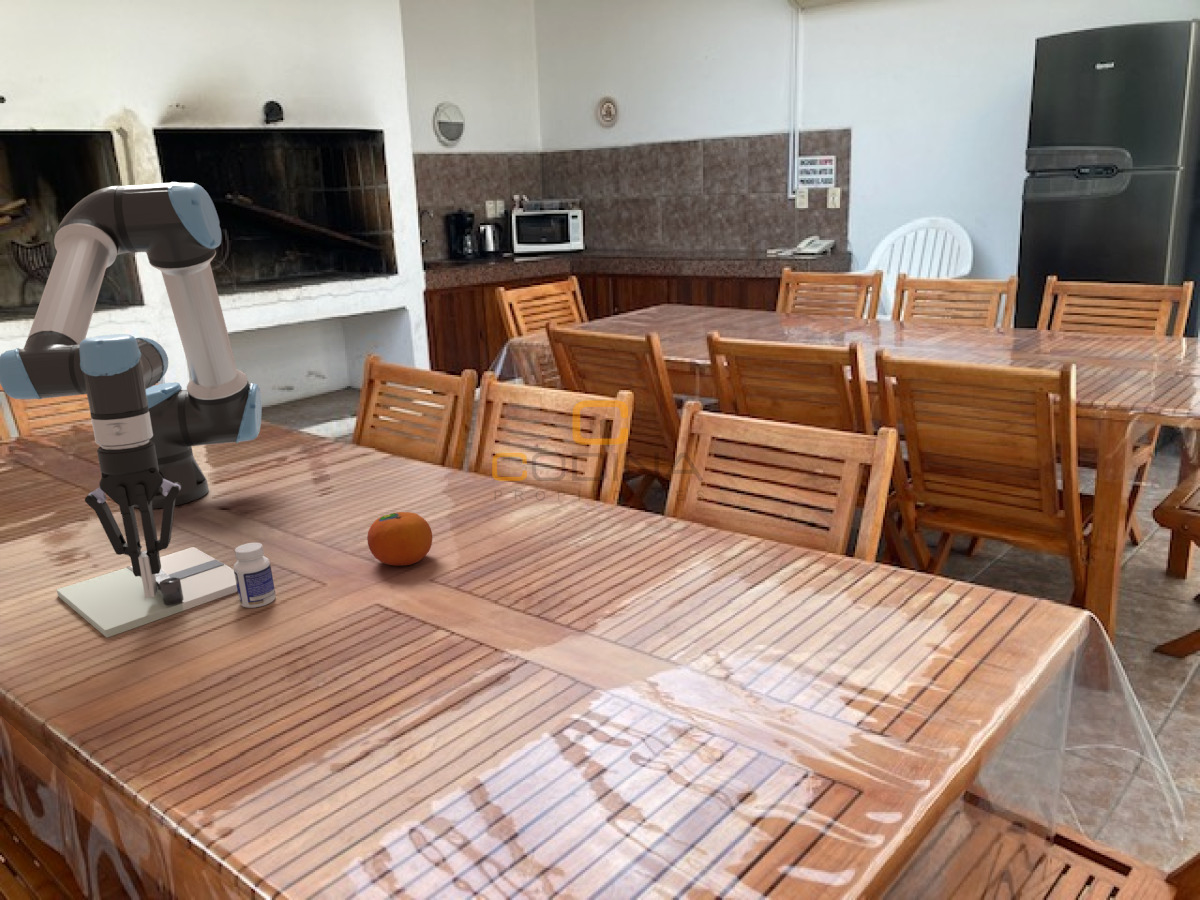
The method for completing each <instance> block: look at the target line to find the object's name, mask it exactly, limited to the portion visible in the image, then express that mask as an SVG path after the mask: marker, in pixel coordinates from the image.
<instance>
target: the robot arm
mask: <svg viewBox="0 0 1200 900" xmlns="http://www.w3.org/2000/svg"><path fill="white" fill-rule="evenodd" d="M220 223H221V222H220V218H219V215H218V213H217V210H216V207H215V204H214V202H213V200H212V198H211V196H210V195H209V193H208V192H207V190H205V189H204V187H202V186H201V185H199V184H198V183H196V182H195V183H194V182H177V181H171V182H162V183H159V182H158V183H146V184H133V185H132V184H131V185H130V184H129V185H112V186H107V187H103V188H100V189H97V190H95V191H93V192H92V193H89V194H88V195H87V196H85V197H83V198H81V200H80V201H78V202H77V203H76V204H75V205H74V206H73V207H72V208H71V209H70V210H69V212H67V214H66V215H65V216H64V217H63V218H62V221H60V223H59V224H58V227H57V230H56V233H55V236H54V240H53V243H54V248H55V250H56V255H55V257H54V260H53V263H52V266H51V269H50V272H49V275H48V277H47V278H48V279H47V280H46V284H45V286H44V289H43V292H42V295H41V298H40V301H39V305H38V306H37V307H38V308H37V310H36V313H35V315H34V319H33V321H32V323H31V324H32V325H31V327H30V330H29V333H28V336H27V338H26V341H25V344H24V346H23V348H19V347H16V348H15V349H10V350H9V349H8V350H6V351H4V352H3V353H0V387H1V388H2V389H3V391H4V393H5V395H7V396H8V397H10V398H11V399H14V400H42V399H49V398H51V399H52V398H61V397H70V396H81V395H83V396H84V395H86V397H87V403H88V406H89V414H90V419H91V426H92V430H93V435H94V440H95V441H94V442H95V444H96V445H98V446H99V447H98V449H97V450H96V453H97V458H98V459H97V460H98V464H99V469H100V473H101V478H100V481H99V483H98V485H99V487H97V488H96V489H95V490H92V491H90V492H89V493H88V494H87V495H86V496H85V498H84V501H85V503H86V504H87V505H88V506H89V507H90V508H91V509H92V510H93V511H94V512H95V514H96V515H97V518H98V520H99V522H100V524H101V526H102V528H103V530H104V532H105V534H106V536H107V538H108V540H109V542H110V544H111V546H112V548H113V550H114V552H115V554H116V555H121V556H122V555H125V556H126V555H127V556H128V557H129V558H130V560H131V561H130V562H131V566H132V568H133V574H134V575H135V577H136V576H142V582H143V587H144V593H145V598H151V597H155V595H156V593H157V591H158V589H157V583H156V577H155V574H159V572H160V569H161V563H160V557H161V556H160V553H159V552H160V551H162V550H166V549H167V548H168V547H169V545H170V543H171V539H172V531H173V530H172V529H173V522H174V514H175V507H176V506H180V505H183V504H188V503H191V502H194V501H196V500H198V499H201V498H202V497H204V496H206V494H208V493H209V490H210V489H209V484H208V479H207V477H206V476H205V474H204V472H203V471H202V469H201V467H200V466H199V464H198V462H197V460H196V459H195V456H194V453H193V452H194V451H193V449H192V448H193V447H198V446H199V447H200V446H207V445H208V446H209V445H210V446H211V445H218V444H219V445H220V444H230V443H235V444H239V443H240V442H247V441H248V442H249V441H253V440H255V439H257V438H258V436H259V433H260V431H261V426H262V409H263V408H262V394H261V388H260V386H259V384H257V383H253V382H251V383H249V379H248V377H247V374H246V373H245V372H244V371H242V370H240V369H237V368H238V367H237V364H236V360H235V357H234V351H233V349H232V346H231V345H232V344H231V341H230V337H229V333H228V328H227V326H226V322H225V317H224V312H223V310H222V305H221V301H220V297H219V293H218V289H217V285H216V281H215V279H214V274H213V270H212V265H211V262H212V261H213V259H214V258H215V257H216V254H217V251H216V248H218V247H220V245H221V244H222V230H221V229H222V228H221V227H220ZM128 253H131V254H132V253H146V255H147V259H148V263H149V265H150V266H151V267H153V268H155V269H157V270H158V271H160V273H161V275H162V276H161V277H162V278H163V282H164V286H165V289H166V293H167V297H168V299H169V303H170V307H171V309H172V313H173V317H174V320H175V323H176V328H177V331H178V334H179V337H180V341H181V345H182V348H183V351H184V354H185V359H186V361H187V362H186V363H187V366H188V369H189V373H190V375H191V376H190V377H191V379H190V380H189V382H188V383H187V385H186V389H183V387H182V386H181V384H180V383H179V382H175V381H174V382H165V383H160V384H159V382H160V381H162V378H163V377H165V375H166V373H167V371H168V368H169V357H168V355H167V352H166V350H165V349H164V347H163V346H162V345H161V344H160V343H159V342H157V341H155V340H153V339H151V338H148V337H135V336H133V335H131V334H128V333H127V334H126V333H117V334H116V333H115V334H104V335H96V336H93V337H92V336H91V337H87V335H88V332H89V328H90V325H91V322H92V321H91V320H92V318H93V315H94V310H95V308H96V303H97V301H98V297H99V294H100V292H101V291H100V290H101V287H102V284H103V281H104V276H105V273H106V269H107V268H109V267H111V266H112V265H113V264H114V262H115V261H116V259H117V256H118V255H122V254H128ZM107 496H108V497H109V499H111V500H112V501H113V502H114V503H115V504H116V505H118V507H119V511H120V512H119V513H120V515H121V518H122V523H123V528H124V533H125V534H124V535H125V538H124V535H123V533H122V531H121V528H120V527H119V525H118V523H117V521H116V518H115V516H114V515H113V512H112V511H111V508H110V507H109V504H108V503H107V502H106V500H107ZM135 508H137V509H138V511H139V512H140V517H141V518H140V519H141V524H142V530H143V536H144V542H145V547H146V550H141V549H142V547H143V546H142V545H141V541H140V534H139V529H138V525H137V519H136V512H135ZM154 509H163V511H162V519H161V527H160V535H159V539H158V534H157V527H156V523H155V517H154Z"/></svg>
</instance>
